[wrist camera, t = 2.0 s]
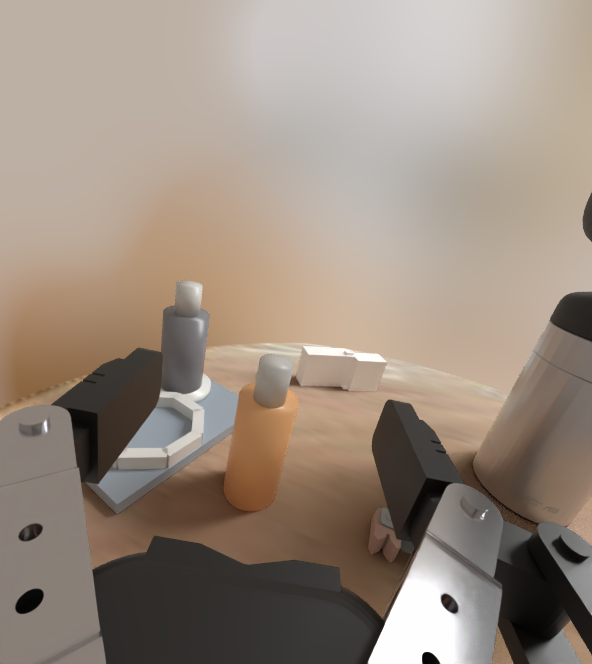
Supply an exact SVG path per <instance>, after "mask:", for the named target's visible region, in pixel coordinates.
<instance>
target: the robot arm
mask: <svg viewBox="0 0 592 664" xmlns="http://www.w3.org/2000/svg"><path fill="white" fill-rule="evenodd" d="M583 229H584V232H585V234H586V236H587V237H588V238H589V239H590V240H591V241H592V193H591V195H590V197H589V199H588V202H587V205H586V207H585V210H584V215H583ZM162 365H163V354H162V353H161V352H158V351H153V350H148V349H144V348H137V349H136V350H135V351H133V352H132V353H131V354H130V355H129V356H127V357H126V358H125V359H120V358H118V359H115V360H113V361H110V362H107V363H105V364H103V365H101V366H100V367H99V368H97V369H96V370H95V371H94V372H92V374H90V375H89V376H87V377H86V378H85V379H83V382H82V381H81V382H80V383H78V384H77V385H76V386H74V387H73V388H72V389H71V390H69V391H68V392H67V393H65V394H64V395H63V396H62V397H60V398H59V399H58V400H57V401H55V402H54V403H53V404H51V405H38V406H32V407H27V408H23V409H20V410H18V411H15V412H13V413H11V414H9V415H7V416H6V417H4V418H3V419H2V420H1V421H0V664H492V660H493V653H494V646H495V639H496V632H497V625H498V627H499V629H500V632H501V634H502V636H503V639H504V641H505V644H506V646H507V648H508V651H509V653H510V656H511V658H512V660H513V663H514V664H582V663H581V662H580V660H579V658H578V656H577V655H576V653H575V651H574V649H573V648H572V646H571V644H570V642H569V641H568V639H567V637H566V635H565V633H564V632H563V630H562V629H563V628H564V627H565V626H566V625H567V623H568V622H569V621H570V620H571V621H572V623H573V624H574V626H575V628H576V629H577V631H578V633H579V634H580V636H581V638H582V639H583V641H584V643H585V644H586V646H587V648H588V649H589V651H590V653H591V654H592V546H591V545H590V544H589V543H587V542H586V541H585V540H584V539H583V538H581V537H580V536H579V535H577V534H576V533H574V532H573V531H571V530H569V529H568V528H566V527H565V526H567V525H569V524H570V523H571V521H572V520H573V519H574V517H575V516H576V515H577V514H578V512H579V511H580V510H581V508H582V507H583V506H584V505H585V503H586V502H587V501H588V499H589V498H590V497H591V496H592V292H575V293H570V294H568V295H566V296H565V297H563V298H562V300H560V302H559V304H558V305H557V307H556V309H555V311H554V312H553V314H552V316H551V318H550V320H549V322H548V324H547V326H546V327H545V329H544V331H543V333H542V335H541V336H540V338H539V340H538V342H537V344H536V346H535V347H534V350H533V351H532V353H531V355H530V357H529V359H528V361H527V363H526V364H525V366H524V368H523V370H522V372H521V374H520V375H519V377H518V379H517V381H516V383H515V385H514V387H513V388H512V390H511V392H510V394H509V396H508V397H507V399H506V401H505V403H504V405H503V407H502V408H501V410H500V412H499V414H498V416H497V418H496V419H495V421H494V423H493V425H492V427H491V429H490V430H489V432H488V434H487V436H486V438H485V439H484V441H483V443H482V445H481V447H480V449H479V450H478V452H477V454H476V456H475V458H474V460H473V468H474V472H475V474H476V476H477V478H478V479H479V480H480V482H481V483H482V485H483V486H484V487H485V488H486V489H487V490H488V491H489V492H490V493H491V494H492V495H493V496H494V497H495V498H496V499H497V500H499V501H500V502H501V503H502V504H504V505H505V506H507V507H508V508H509V509H511V510H512V511H514V512H516V513H517V514H519V515H521V516H522V517H525V518H527V519H529V520H531V521H533V522H535V523H538V524H539V525H538V527H537V528H536V529H535V531H534V532H533V533H532V532H529V531H527V530H525V529H522V528H520V527H518V526H516V525H513V524H511V523H509V522H507V521H504V520H503V518H502V515H501V513H500V511H499V510H498V508H497V507H496V506H495V505H494V503H493V502H492V501H491V500H490V499H488V498H487V497H486V496H485V495H484V494H482V493H481V492H479V491H478V490H476V489H474V488H472V487H470V486H467V485H465V483H464V482H463V480H462V478H461V476H460V475H459V473H458V471H457V470H456V468H455V466H454V464H453V463H452V461H451V459H450V457H449V456H448V454H446V451H445V449H444V447H443V445H441V442H440V440H439V438H438V437H437V435H436V433H435V432H434V430H433V429H431V428H430V427H429V426H428V425H427V424H426V423H425V422H424V421H423V420H419V418H418V416H417V414H416V412H415V411H414V409H413V407H412V405H411V404H409V403H404V402H400V401H395V400H388V401H387V402H386V403H385V406H384V408H383V411H382V413H381V416H380V419H379V421H378V424H377V427H376V429H375V432H374V435H373V439H372V452H373V456H374V459H375V463H376V467H377V470H378V474H379V477H380V481H381V485H382V488H383V492H384V495H385V499H386V503H387V506H388V510H389V513H390V517H391V521H392V524H393V528H394V531H395V535H396V539H398V540H403V541H409V542H412V543H413V546H414V550H413V552H412V554H411V556H410V558H409V560H408V562H407V564H406V567H405V569H404V571H403V573H402V575H401V577H400V579H399V581H398V583H397V586H396V588H395V590H394V592H393V594H392V596H391V598H390V600H389V602H388V605H387V607H386V609H385V611H384V613H383V615H382V617H380V616H379V615H378V613H377V612H376V611H375V610H374V609H373V608H372V607H370V606H369V605H368V604H367V603H366V602H365V601H364V600H362V599H361V598H360V597H359V596H357V595H356V594H354V593H353V592H351V591H350V590H348V589H346V588H345V587H342V586H341V585H340V574H339V568H338V567H332V566H326V565H321V564H315V563H309V562H303V561H298V560H290V561H281V562H271V563H262V564H253V565H246V564H243V563H240V562H238V561H236V560H234V559H232V558H230V557H227V556H225V555H223V554H221V553H219V552H217V551H215V550H213V549H211V548H209V547H206V546H204V545H202V544H199V543H193V542H188V541H182V540H176V539H170V538H164V537H159V536H154V537H153V539H152V542H151V544H150V546H149V548H148V550H147V552H145V553H137V554H133V555H128V556H124V557H121V558H118V559H115V560H112V561H110V562H108V563H106V564H103V565H101V566H99V567H97V568H95V569H93V570H92V564H91V557H90V549H89V541H88V534H87V526H86V518H85V510H84V503H83V495H82V487H81V483H82V481H83V482H88V483H94V484H99V483H100V481H101V480H102V479H103V477H104V476H105V475H106V473H107V472H108V471H109V469H110V468H111V467H112V465H113V464H114V463H115V461H116V460H117V458H118V457H119V456H120V454H121V453H122V452H123V450H124V449H125V448H126V446H127V445H128V444H129V442H130V441H131V440H132V438H133V437H134V436H135V434H136V433H137V432H138V430H139V429H140V428H141V426H142V425H143V423H144V422H145V421H146V419H147V418H148V417H149V415H150V414H151V413H152V411H153V410H154V409H155V407H156V405H157V403H158V400H159V396H160V391H161V379H162Z"/></svg>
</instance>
